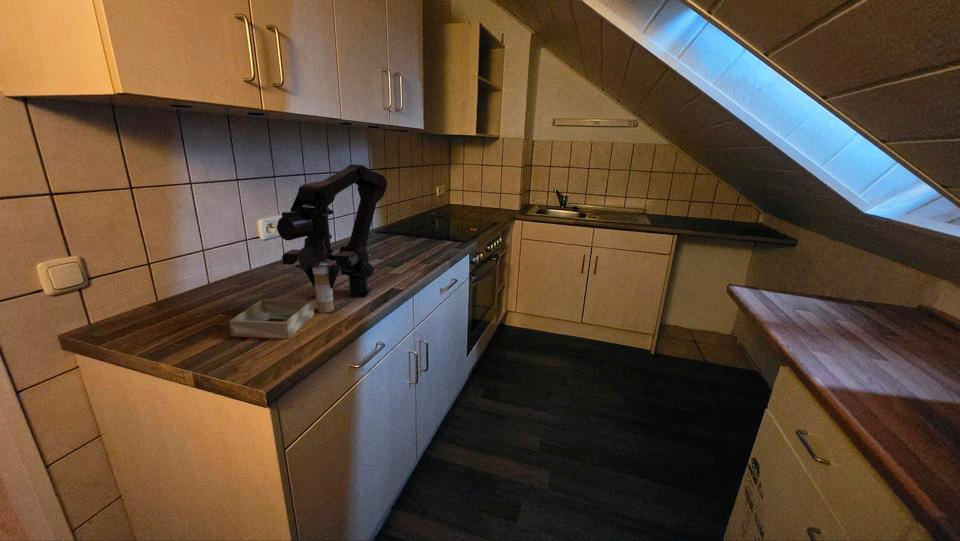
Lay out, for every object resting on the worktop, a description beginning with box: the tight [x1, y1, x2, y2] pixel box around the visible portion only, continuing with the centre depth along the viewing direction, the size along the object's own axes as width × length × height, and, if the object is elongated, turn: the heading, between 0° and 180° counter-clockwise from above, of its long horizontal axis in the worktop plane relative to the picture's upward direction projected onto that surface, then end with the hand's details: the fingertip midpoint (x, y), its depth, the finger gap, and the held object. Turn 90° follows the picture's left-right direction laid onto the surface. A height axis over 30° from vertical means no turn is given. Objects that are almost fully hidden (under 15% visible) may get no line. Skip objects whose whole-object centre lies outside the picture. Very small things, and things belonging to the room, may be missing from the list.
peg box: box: [228, 298, 315, 339], centre depth 97 cm, size 14×14×4 cm
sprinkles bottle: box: [312, 263, 335, 314], centre depth 105 cm, size 5×5×14 cm
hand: (323, 287), depth 105 cm, fingers closed on sprinkles bottle, 4 cm apart
